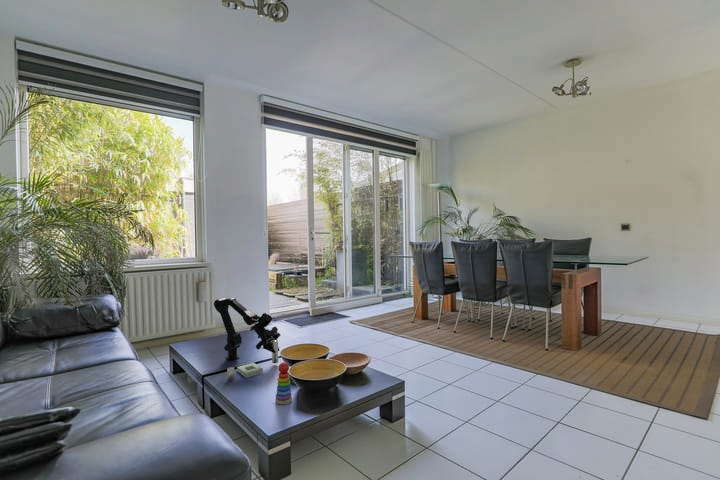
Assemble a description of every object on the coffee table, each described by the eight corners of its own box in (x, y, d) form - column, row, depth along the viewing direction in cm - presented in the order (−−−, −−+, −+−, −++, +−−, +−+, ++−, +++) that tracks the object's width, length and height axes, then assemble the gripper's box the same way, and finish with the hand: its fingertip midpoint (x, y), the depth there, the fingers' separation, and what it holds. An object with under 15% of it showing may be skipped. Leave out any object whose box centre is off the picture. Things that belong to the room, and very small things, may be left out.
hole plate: (237, 371, 212) (237, 367, 212) (253, 366, 219) (253, 362, 219) (246, 377, 203) (246, 373, 203) (262, 372, 210) (262, 368, 210)
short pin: (226, 379, 202) (226, 368, 201) (232, 377, 204) (232, 366, 204) (229, 381, 199) (228, 370, 199) (235, 379, 201) (235, 368, 201)
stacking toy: (293, 403, 174) (293, 364, 173) (276, 406, 171) (276, 367, 170) (290, 396, 181) (290, 359, 180) (274, 399, 178) (273, 361, 177)
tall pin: (271, 362, 222) (270, 340, 221) (276, 360, 224) (276, 339, 223) (273, 363, 219) (273, 342, 218) (279, 362, 221) (279, 341, 221)
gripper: (259, 327, 213) (276, 348, 210) (277, 319, 230) (293, 338, 227) (248, 339, 216) (264, 360, 213) (267, 330, 234) (282, 349, 230)
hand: (277, 351), depth 221 cm, fingers closed on tall pin, 4 cm apart
